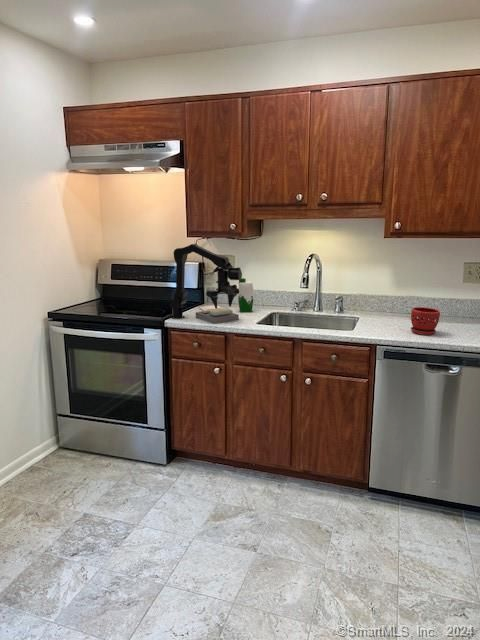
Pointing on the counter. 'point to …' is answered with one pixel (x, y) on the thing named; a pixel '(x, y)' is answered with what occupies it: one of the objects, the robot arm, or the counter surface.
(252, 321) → the counter surface
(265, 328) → the counter surface
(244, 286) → the milk carton
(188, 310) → the counter surface
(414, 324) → the plant pot
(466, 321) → the counter surface
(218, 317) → the rocker switch panel
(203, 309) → the plate
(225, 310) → the green rocker
